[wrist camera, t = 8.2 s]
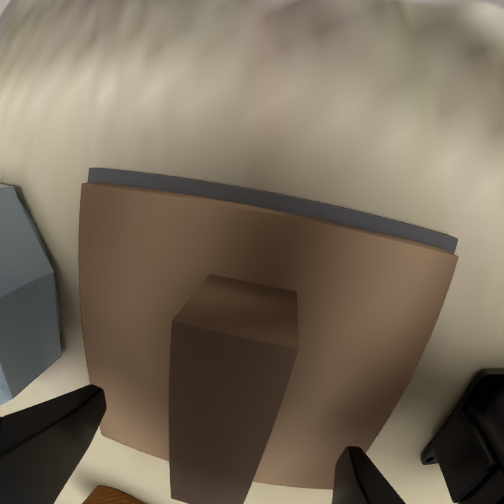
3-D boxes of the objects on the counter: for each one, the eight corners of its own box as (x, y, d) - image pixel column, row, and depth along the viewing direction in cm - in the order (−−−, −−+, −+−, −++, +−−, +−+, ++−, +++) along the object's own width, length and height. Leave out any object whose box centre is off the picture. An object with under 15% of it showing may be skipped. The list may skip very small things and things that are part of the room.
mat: (449, 235, 9) (457, 238, 8) (340, 471, 12) (341, 480, 12) (98, 167, 10) (89, 167, 9) (107, 418, 13) (102, 425, 13)
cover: (444, 249, 8) (516, 290, 5) (336, 474, 11) (340, 537, 8) (98, 182, 9) (14, 191, 5) (110, 423, 12) (74, 473, 9)
